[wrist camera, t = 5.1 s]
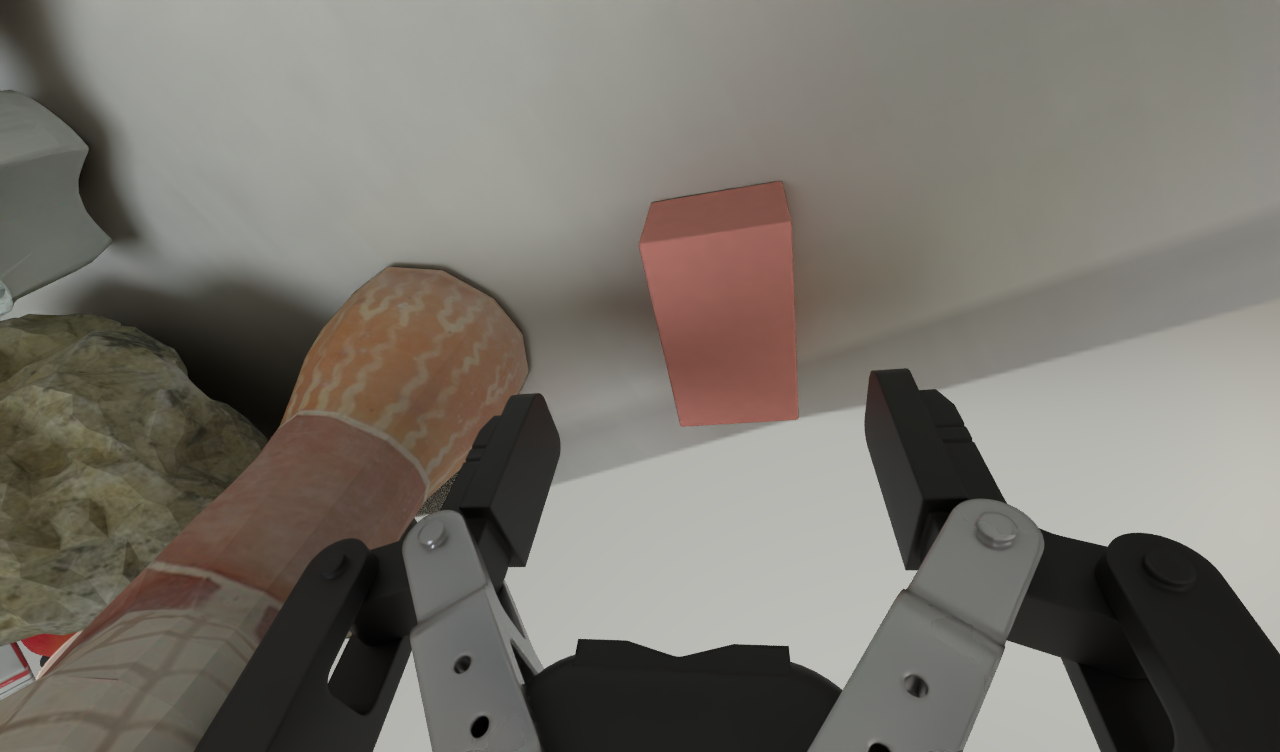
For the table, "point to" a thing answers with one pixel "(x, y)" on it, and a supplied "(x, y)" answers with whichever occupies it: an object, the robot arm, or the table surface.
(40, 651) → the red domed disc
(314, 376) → the plant stem model
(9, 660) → the ink box
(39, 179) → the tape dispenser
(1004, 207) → the table surface
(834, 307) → the table surface
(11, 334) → the rock
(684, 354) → the eraser
